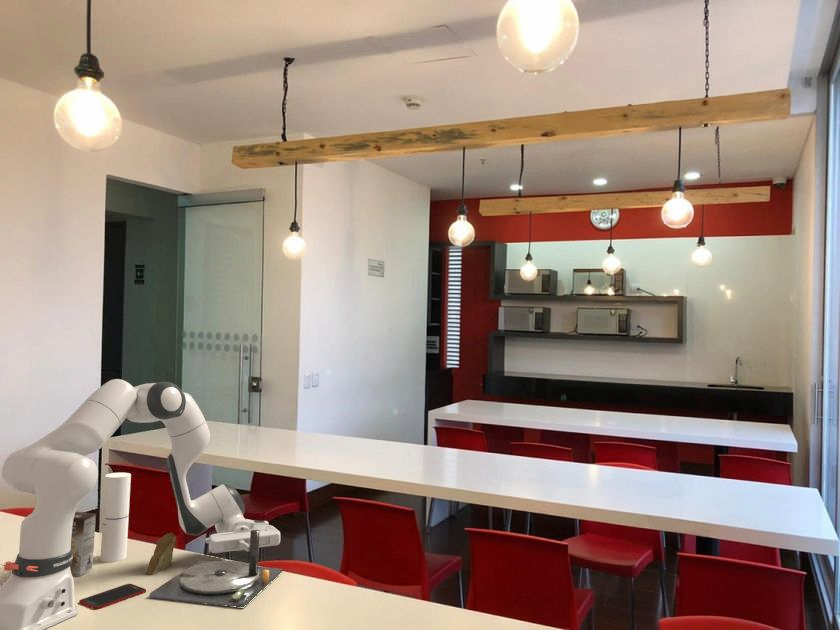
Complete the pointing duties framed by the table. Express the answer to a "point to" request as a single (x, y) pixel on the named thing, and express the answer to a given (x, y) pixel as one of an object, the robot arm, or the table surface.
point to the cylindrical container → (115, 517)
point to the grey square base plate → (238, 598)
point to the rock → (162, 553)
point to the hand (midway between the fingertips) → (252, 548)
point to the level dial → (223, 573)
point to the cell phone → (112, 596)
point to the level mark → (265, 576)
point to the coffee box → (82, 543)
